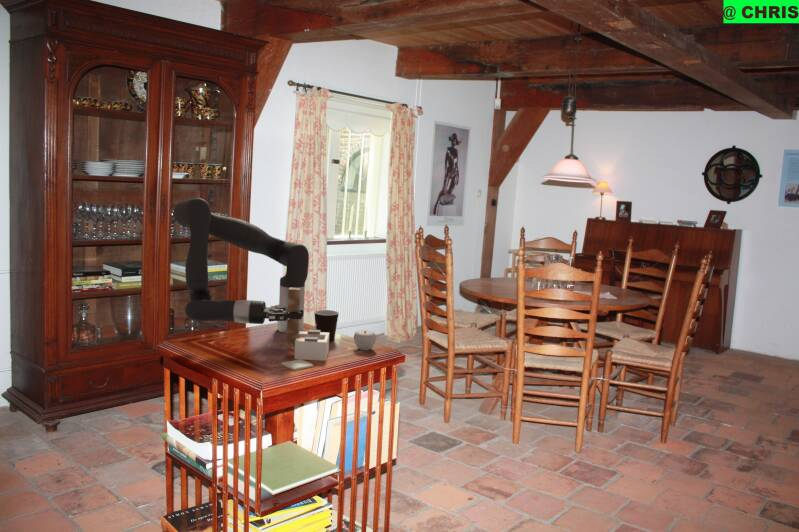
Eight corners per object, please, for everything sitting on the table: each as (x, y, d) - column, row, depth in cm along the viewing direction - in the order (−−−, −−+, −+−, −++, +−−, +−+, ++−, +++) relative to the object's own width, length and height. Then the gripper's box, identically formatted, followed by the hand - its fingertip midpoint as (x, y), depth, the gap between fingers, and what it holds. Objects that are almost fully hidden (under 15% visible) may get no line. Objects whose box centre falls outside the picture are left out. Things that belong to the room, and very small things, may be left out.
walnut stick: (286, 346, 212) (288, 289, 210) (287, 343, 216) (289, 287, 213) (297, 346, 213) (299, 289, 210) (298, 344, 216) (300, 287, 213)
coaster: (281, 364, 202) (281, 362, 202) (300, 361, 207) (300, 359, 206) (294, 370, 197) (294, 368, 197) (313, 366, 201) (313, 364, 201)
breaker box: (294, 359, 208) (295, 338, 207) (299, 348, 221) (299, 328, 220) (325, 360, 209) (326, 340, 208) (328, 349, 222) (329, 330, 221)
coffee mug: (333, 343, 229) (334, 316, 228) (310, 341, 231) (311, 313, 230) (342, 336, 241) (343, 309, 239) (320, 333, 242) (321, 307, 241)
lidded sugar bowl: (377, 347, 228) (378, 329, 227) (373, 353, 220) (374, 334, 219) (355, 345, 229) (356, 327, 228) (350, 351, 221) (351, 332, 220)
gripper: (245, 305, 205) (300, 307, 205) (253, 296, 219) (305, 299, 219) (245, 328, 206) (299, 330, 206) (253, 318, 220) (304, 320, 220)
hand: (302, 314), depth 213 cm, fingers closed on walnut stick, 3 cm apart
